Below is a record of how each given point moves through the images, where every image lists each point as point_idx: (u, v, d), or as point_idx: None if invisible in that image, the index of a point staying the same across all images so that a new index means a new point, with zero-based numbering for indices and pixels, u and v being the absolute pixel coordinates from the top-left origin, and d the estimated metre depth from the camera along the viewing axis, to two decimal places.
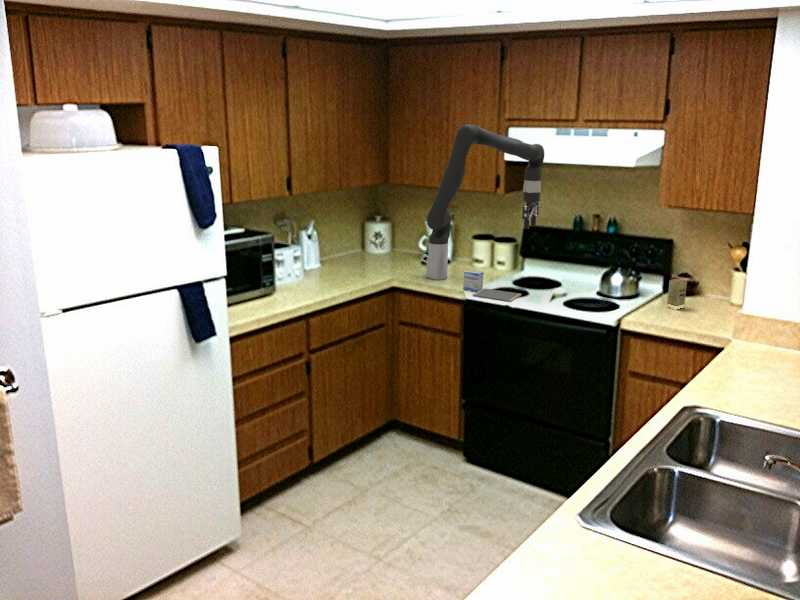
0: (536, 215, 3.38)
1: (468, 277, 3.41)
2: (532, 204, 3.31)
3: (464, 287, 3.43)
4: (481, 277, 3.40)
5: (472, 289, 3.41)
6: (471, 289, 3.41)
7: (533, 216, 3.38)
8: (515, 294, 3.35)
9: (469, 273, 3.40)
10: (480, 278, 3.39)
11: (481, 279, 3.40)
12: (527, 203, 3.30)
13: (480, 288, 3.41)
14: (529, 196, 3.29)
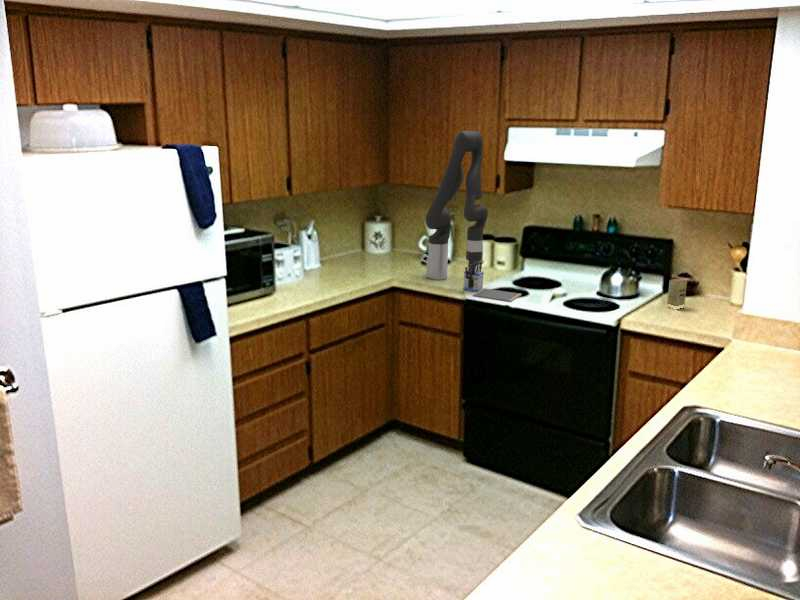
0: None
1: None
2: (475, 263, 3.38)
3: (464, 287, 3.43)
4: (481, 277, 3.40)
5: (472, 289, 3.41)
6: (471, 289, 3.41)
7: None
8: (515, 294, 3.35)
9: None
10: (480, 278, 3.39)
11: (481, 279, 3.40)
12: (469, 262, 3.37)
13: (480, 288, 3.41)
14: (471, 256, 3.36)
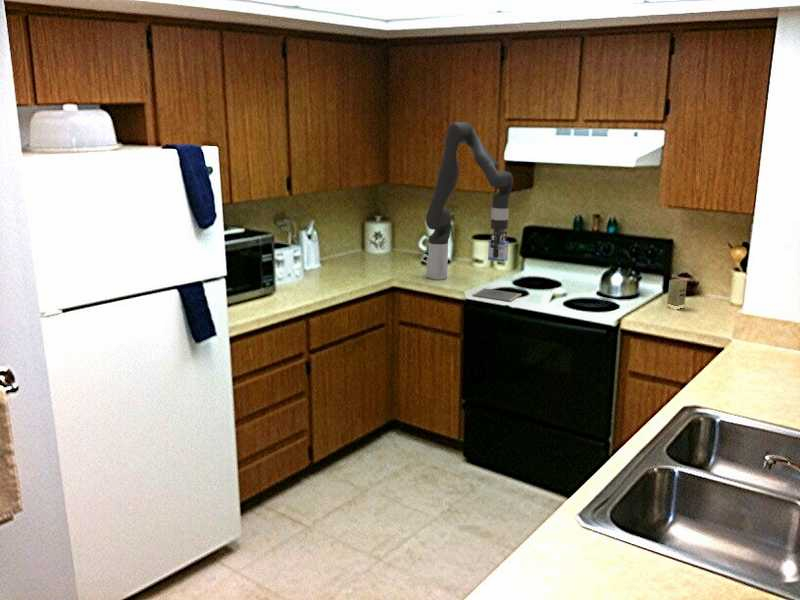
0: None
1: None
2: (500, 231, 3.30)
3: (489, 257, 3.34)
4: (506, 246, 3.31)
5: (497, 259, 3.33)
6: (496, 259, 3.33)
7: None
8: (515, 294, 3.35)
9: None
10: (505, 247, 3.31)
11: (506, 248, 3.32)
12: (495, 230, 3.28)
13: (505, 258, 3.33)
14: (496, 224, 3.27)
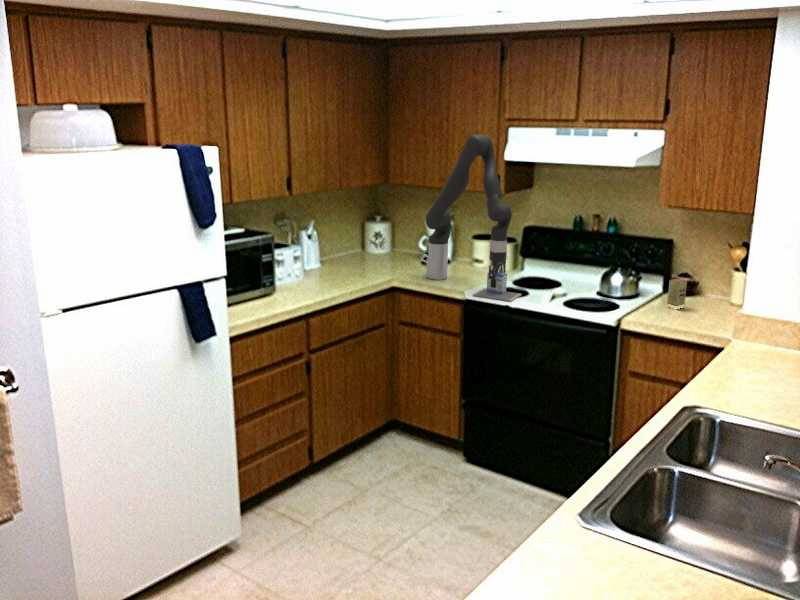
0: None
1: None
2: (498, 263, 3.34)
3: (487, 288, 3.39)
4: (505, 278, 3.35)
5: (496, 290, 3.37)
6: (494, 290, 3.37)
7: None
8: (515, 294, 3.35)
9: None
10: (504, 279, 3.35)
11: (505, 280, 3.36)
12: (493, 262, 3.32)
13: (504, 289, 3.37)
14: (495, 256, 3.31)
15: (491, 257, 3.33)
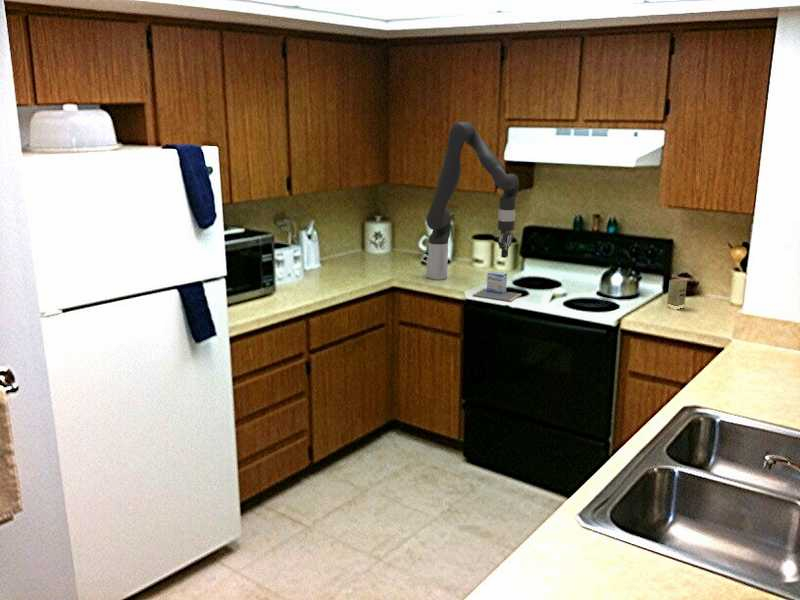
0: (508, 246, 3.41)
1: (491, 278, 3.36)
2: (506, 232, 3.37)
3: (487, 288, 3.39)
4: (505, 278, 3.35)
5: (496, 290, 3.37)
6: (494, 290, 3.37)
7: None
8: (515, 294, 3.35)
9: (493, 274, 3.36)
10: (504, 279, 3.35)
11: (505, 280, 3.36)
12: (501, 232, 3.36)
13: (504, 289, 3.37)
14: (503, 225, 3.34)
15: (499, 226, 3.36)
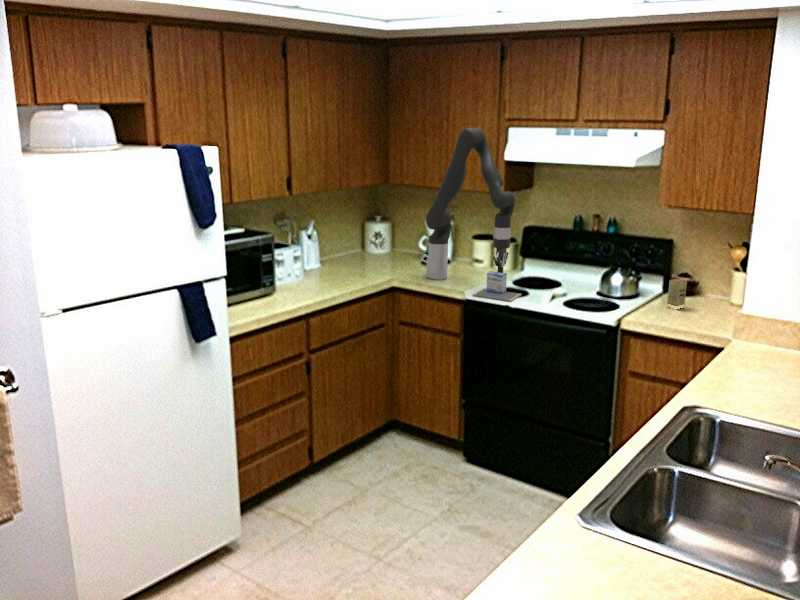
0: (503, 264, 3.39)
1: (491, 278, 3.36)
2: (502, 250, 3.35)
3: (487, 288, 3.38)
4: (504, 278, 3.35)
5: (495, 290, 3.37)
6: (494, 290, 3.37)
7: None
8: (515, 294, 3.35)
9: (492, 274, 3.35)
10: (503, 279, 3.35)
11: (504, 280, 3.36)
12: (497, 249, 3.34)
13: (504, 289, 3.37)
14: (499, 243, 3.33)
15: (495, 244, 3.34)
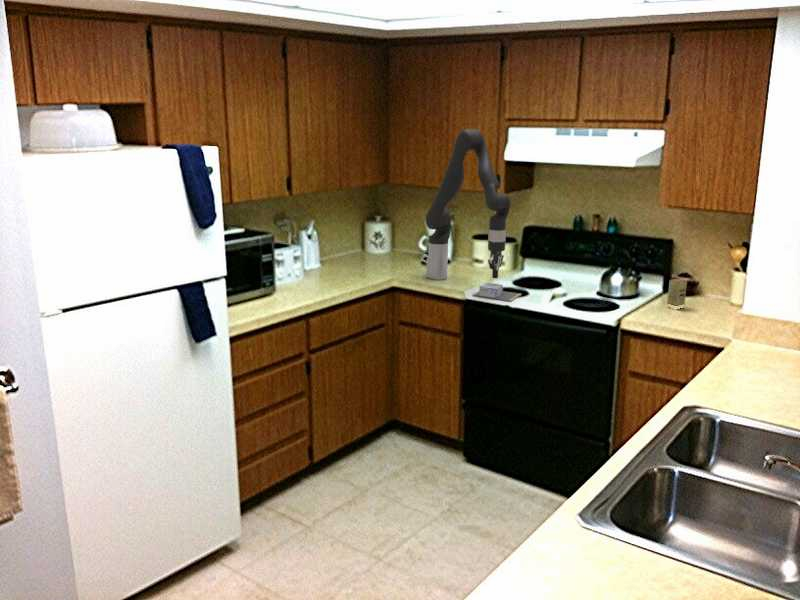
0: (498, 267, 3.34)
1: None
2: (497, 253, 3.30)
3: None
4: (497, 293, 3.29)
5: None
6: None
7: None
8: (515, 294, 3.35)
9: None
10: (497, 294, 3.30)
11: (498, 291, 3.30)
12: (492, 252, 3.29)
13: (501, 291, 3.34)
14: (494, 246, 3.28)
15: (490, 247, 3.29)
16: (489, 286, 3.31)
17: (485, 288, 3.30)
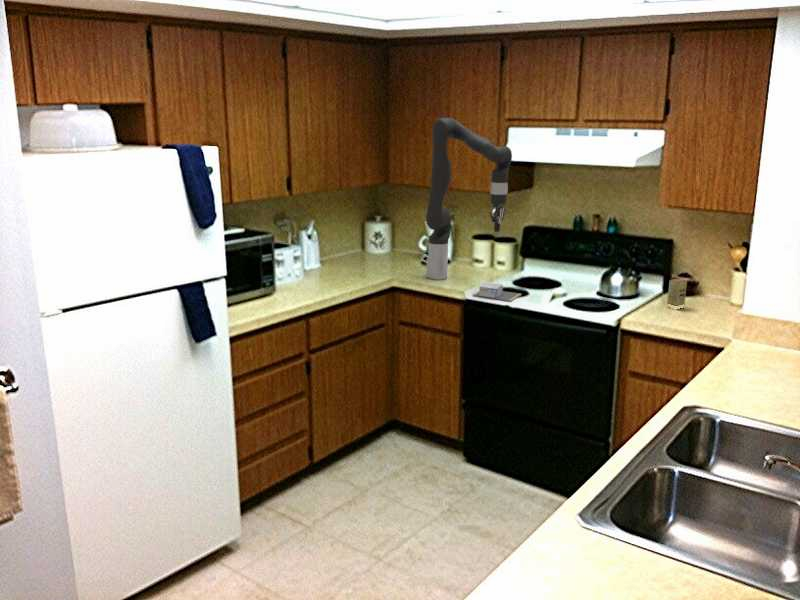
0: (500, 220, 3.36)
1: None
2: (499, 206, 3.33)
3: None
4: (497, 293, 3.29)
5: None
6: None
7: None
8: (515, 294, 3.35)
9: None
10: (497, 294, 3.30)
11: (498, 291, 3.30)
12: (494, 205, 3.31)
13: (501, 291, 3.34)
14: (496, 198, 3.30)
15: (492, 200, 3.32)
16: (489, 286, 3.31)
17: (485, 288, 3.30)
